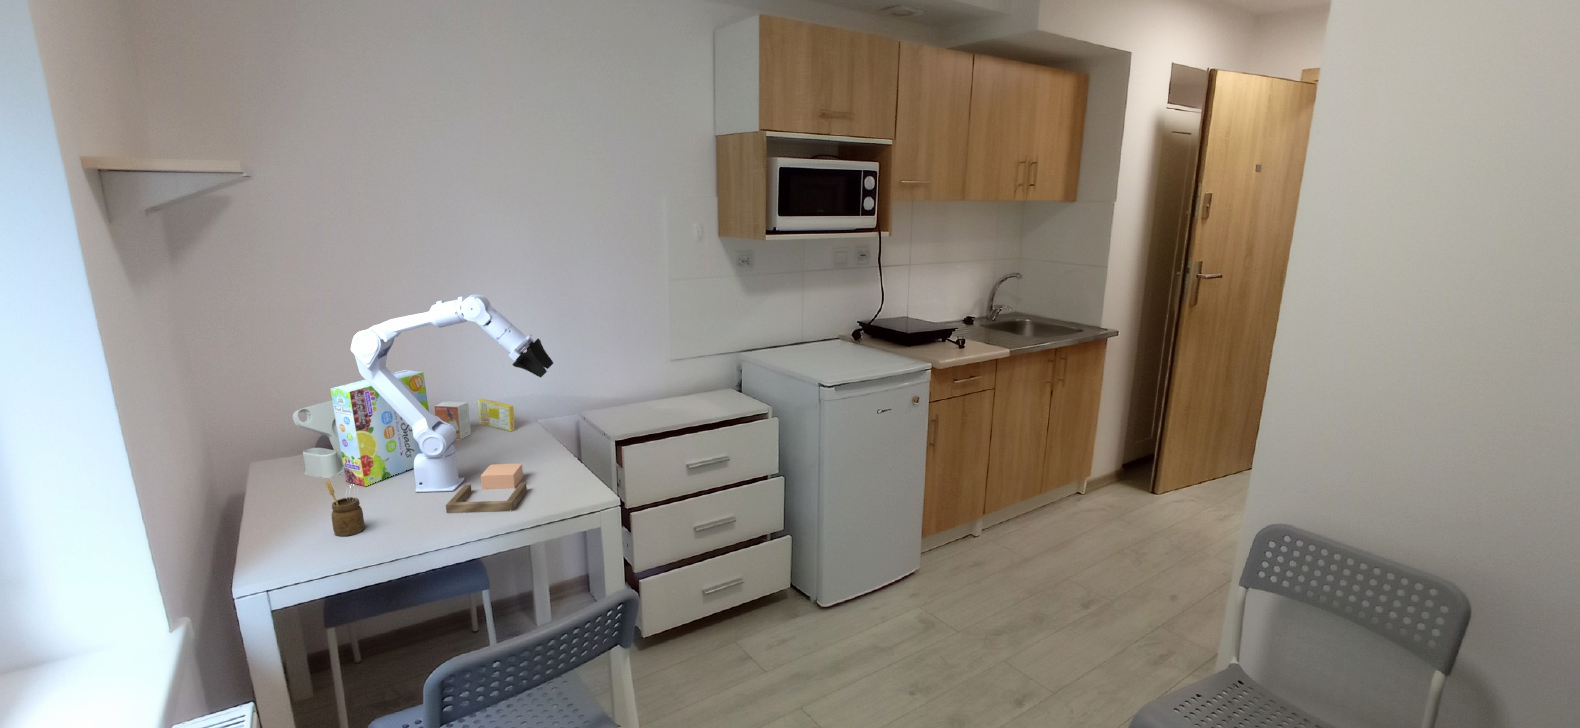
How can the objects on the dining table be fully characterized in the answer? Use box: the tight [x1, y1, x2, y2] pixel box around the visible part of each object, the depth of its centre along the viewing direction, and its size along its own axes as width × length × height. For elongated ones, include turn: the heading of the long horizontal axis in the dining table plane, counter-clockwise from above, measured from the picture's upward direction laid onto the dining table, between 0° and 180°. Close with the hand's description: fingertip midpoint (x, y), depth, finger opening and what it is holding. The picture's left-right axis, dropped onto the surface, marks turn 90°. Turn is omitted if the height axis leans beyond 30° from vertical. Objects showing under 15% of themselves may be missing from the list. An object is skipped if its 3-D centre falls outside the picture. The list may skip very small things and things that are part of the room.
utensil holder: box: [324, 478, 365, 537], centre depth 161 cm, size 6×6×12 cm
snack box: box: [329, 369, 430, 487], centre depth 195 cm, size 22×9×26 cm, turn 155°
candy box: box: [476, 398, 515, 433], centre depth 235 cm, size 16×2×8 cm, turn 58°
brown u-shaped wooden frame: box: [445, 482, 528, 514], centre depth 178 cm, size 15×12×2 cm
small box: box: [433, 400, 472, 440], centre depth 225 cm, size 8×6×10 cm
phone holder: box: [292, 399, 345, 479], centre depth 200 cm, size 17×10×18 cm, turn 159°
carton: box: [480, 463, 524, 491], centre depth 189 cm, size 8×8×4 cm
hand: (547, 370), depth 185 cm, fingers open, 7 cm apart
